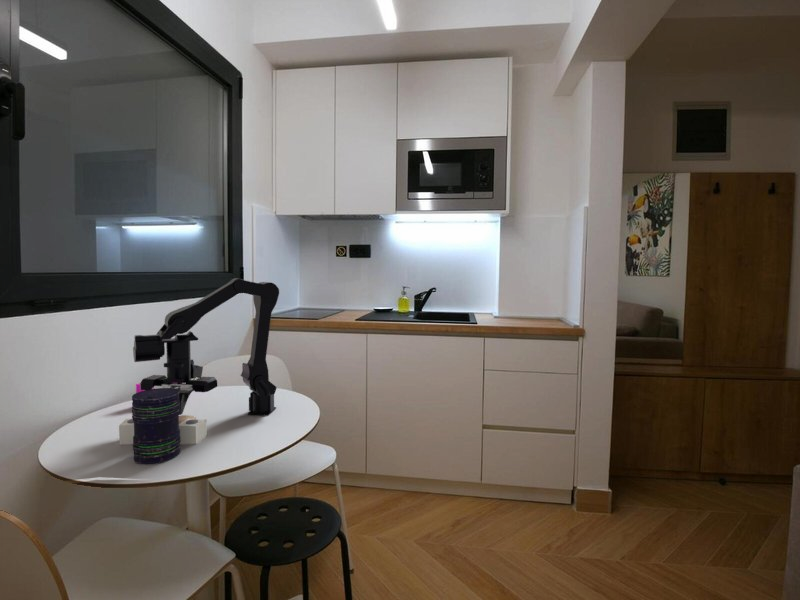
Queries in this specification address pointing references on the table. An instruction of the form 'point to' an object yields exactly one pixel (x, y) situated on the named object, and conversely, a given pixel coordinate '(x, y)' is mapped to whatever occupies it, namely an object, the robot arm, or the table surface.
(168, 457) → the storage jar
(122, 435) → the marked cube
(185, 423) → the marked cube
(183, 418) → the beige rounded disc
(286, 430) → the table surface
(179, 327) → the robot arm
